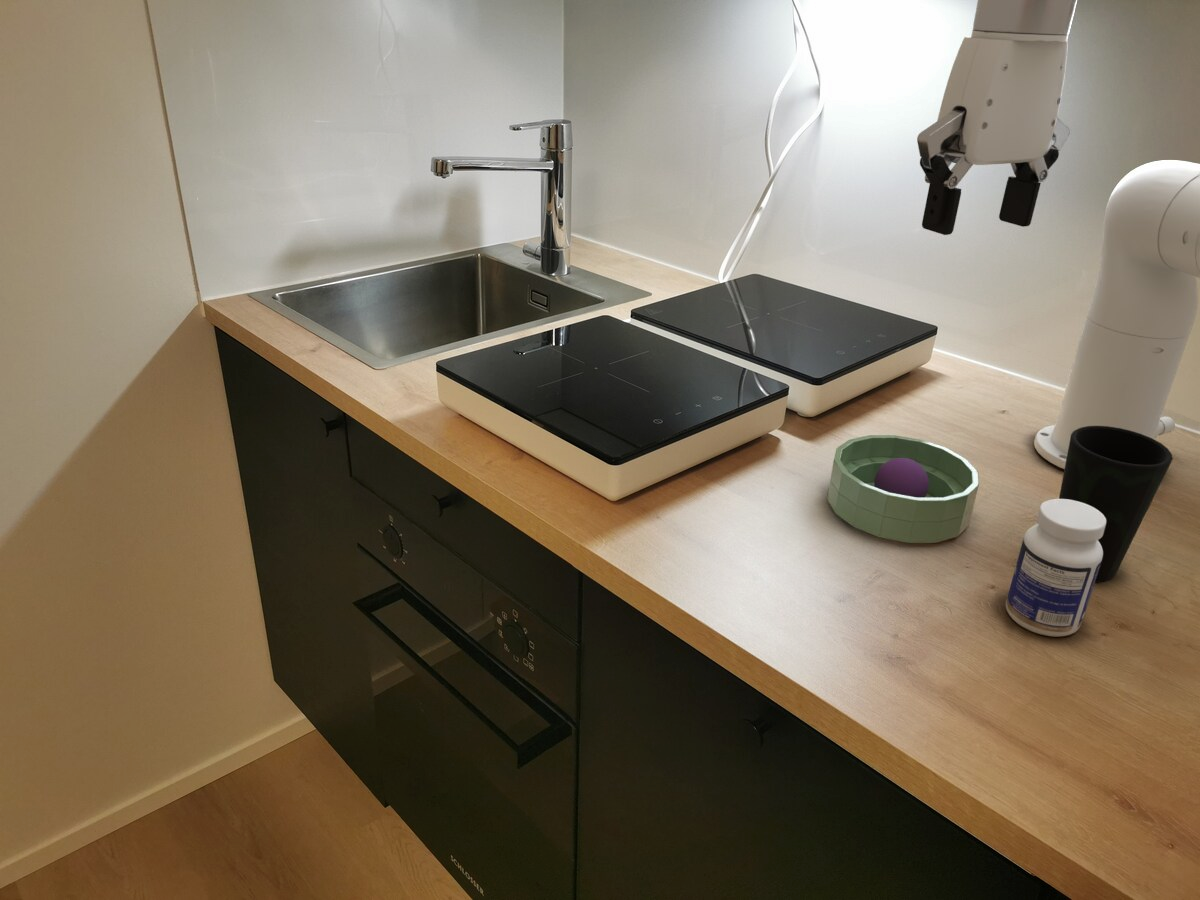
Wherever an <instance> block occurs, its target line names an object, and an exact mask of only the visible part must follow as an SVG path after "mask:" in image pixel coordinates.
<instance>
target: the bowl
mask: <svg viewBox="0 0 1200 900" xmlns="http://www.w3.org/2000/svg"><path fill="white" fill-rule="evenodd" d="M896 458H907V459H911V460H913V461H915V462H917V463H918V464H920V465H921V466H922V467H923V469H924V470H925V472H926V473H927V476H928V480H929V488H928V492H927V495H926V497H925V498H917V497H911V496H906V495H900V494H895V493H889V492H887V491H884V490H881V489H879V488H876V487H875V486H874V481H875V476H876V474H877V472H878V470H879V468H880V467H881V466H882V465H883V464H884V463H886V462H888V461H889V460H892V459H896ZM831 468H832V469H831V473H830V474H831V475H830V480H829V485H828V492H827V496H826V500H827V501H828V503H829V505H830V507H831V509H832V511H833V512H834V513H835V515H837V516H838V517H840V519H842V520H844V521H845V522H846V523H847V524H849V525H851V526H852V527H854V528H855V529H857V530H860V531H863V532H865V533H867V534H870V535H872V536H875V537H877V538H882V539H887V540H891V541H896V542H903V543H907V544H908V543H909V544H929V543H930V544H932V543H933V544H934V543H935V544H936V543H940V542H943V541H947V540H950V539H951V540H952V539H954V538H957V537H959V536H960V535H961V534H962V533H963V532H964V531H965V530H966V529H967V528H968V527H969V525H970V522H971V518H972V514H973V510H974V506H975V502H976V498H977V495H978V491H979V487H980V480H979V472H978V470H977V468H975V467H974V466H973V465H972V464H971V463H970V461H969V460H968V459H966V458H965V457H963V456H961V455H959V454H958V453H956V452H955V451H952V450H950V449H949V448H947V447H945V446H942V445H939V444H935V443H933V442H929V441H927V440H923V439H920V438H914V437H908V436H902V435H895V434H872V435H871V434H868V435H864V436H860V437H854V438H850V439H848V440H846V441H844V443H842V444H840V445H839V446H838V447H836V449H835V453H834V457H833V462H832V467H831Z"/></svg>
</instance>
